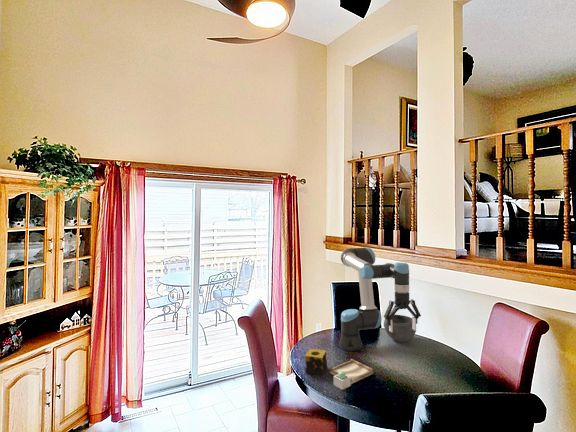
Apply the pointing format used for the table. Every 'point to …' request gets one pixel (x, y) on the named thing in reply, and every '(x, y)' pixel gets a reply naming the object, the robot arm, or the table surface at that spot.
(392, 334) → the bowl
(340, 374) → the button
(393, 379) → the table surface
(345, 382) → the button housing
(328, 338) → the table surface
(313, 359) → the candle
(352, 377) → the beige square tray
